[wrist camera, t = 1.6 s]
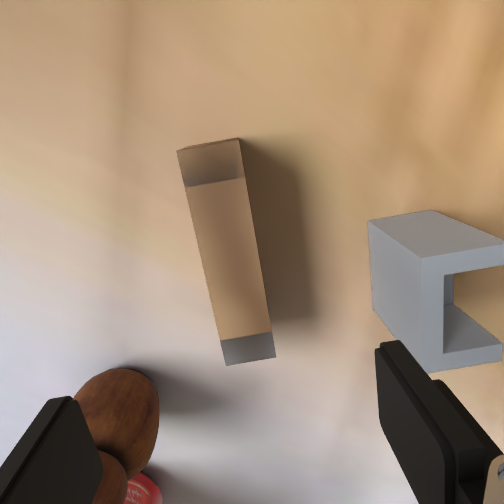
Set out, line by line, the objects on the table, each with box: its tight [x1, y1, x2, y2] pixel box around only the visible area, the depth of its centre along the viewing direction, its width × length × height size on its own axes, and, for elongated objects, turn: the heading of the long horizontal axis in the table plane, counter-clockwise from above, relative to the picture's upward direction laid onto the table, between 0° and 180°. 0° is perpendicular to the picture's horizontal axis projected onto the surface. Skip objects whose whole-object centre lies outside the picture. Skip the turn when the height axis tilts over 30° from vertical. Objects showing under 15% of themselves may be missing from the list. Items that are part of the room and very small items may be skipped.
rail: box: [176, 138, 276, 366], centre depth 24 cm, size 3×14×5 cm, turn 10°
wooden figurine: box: [73, 368, 159, 504], centre depth 23 cm, size 7×6×15 cm
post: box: [368, 210, 504, 374], centre depth 24 cm, size 7×5×8 cm, turn 10°
